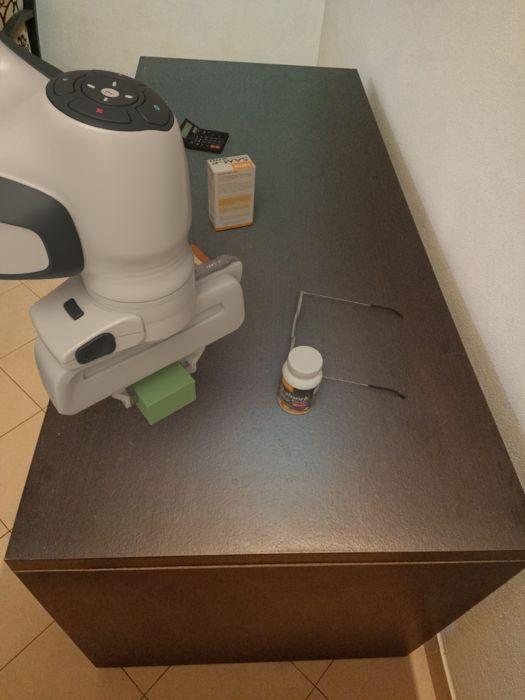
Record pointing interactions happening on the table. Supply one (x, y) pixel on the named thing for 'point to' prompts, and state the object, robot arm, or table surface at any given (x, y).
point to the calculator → (202, 138)
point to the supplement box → (231, 191)
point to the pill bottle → (300, 380)
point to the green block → (164, 392)
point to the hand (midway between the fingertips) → (158, 385)
